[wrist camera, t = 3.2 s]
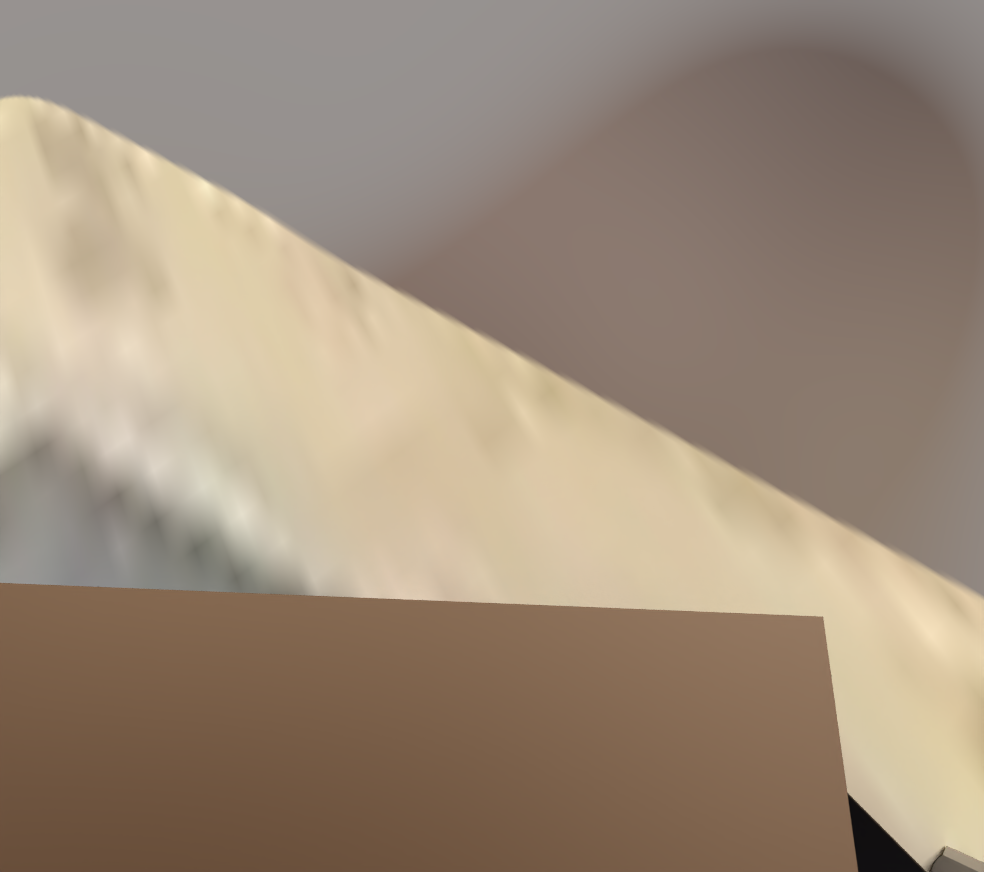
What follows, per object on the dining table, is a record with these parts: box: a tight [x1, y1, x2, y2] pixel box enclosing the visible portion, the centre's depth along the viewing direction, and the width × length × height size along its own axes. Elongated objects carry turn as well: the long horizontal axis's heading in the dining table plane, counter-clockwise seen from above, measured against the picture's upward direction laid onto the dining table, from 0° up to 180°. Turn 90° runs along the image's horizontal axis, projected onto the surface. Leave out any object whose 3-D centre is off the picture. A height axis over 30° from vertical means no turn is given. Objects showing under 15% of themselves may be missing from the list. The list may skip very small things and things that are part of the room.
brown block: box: [0, 583, 858, 872], centre depth 9 cm, size 5×5×14 cm
